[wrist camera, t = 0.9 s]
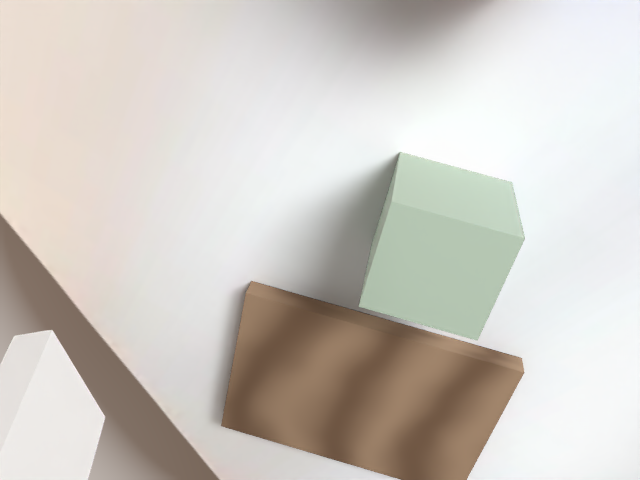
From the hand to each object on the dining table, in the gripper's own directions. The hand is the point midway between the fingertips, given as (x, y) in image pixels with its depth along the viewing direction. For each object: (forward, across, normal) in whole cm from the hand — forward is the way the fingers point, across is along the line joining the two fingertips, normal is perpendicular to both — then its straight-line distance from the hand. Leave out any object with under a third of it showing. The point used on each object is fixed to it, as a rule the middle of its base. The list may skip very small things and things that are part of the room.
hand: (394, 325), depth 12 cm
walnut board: (+22, +2, +29) cm, 36 cm away
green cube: (+23, -5, +14) cm, 28 cm away
